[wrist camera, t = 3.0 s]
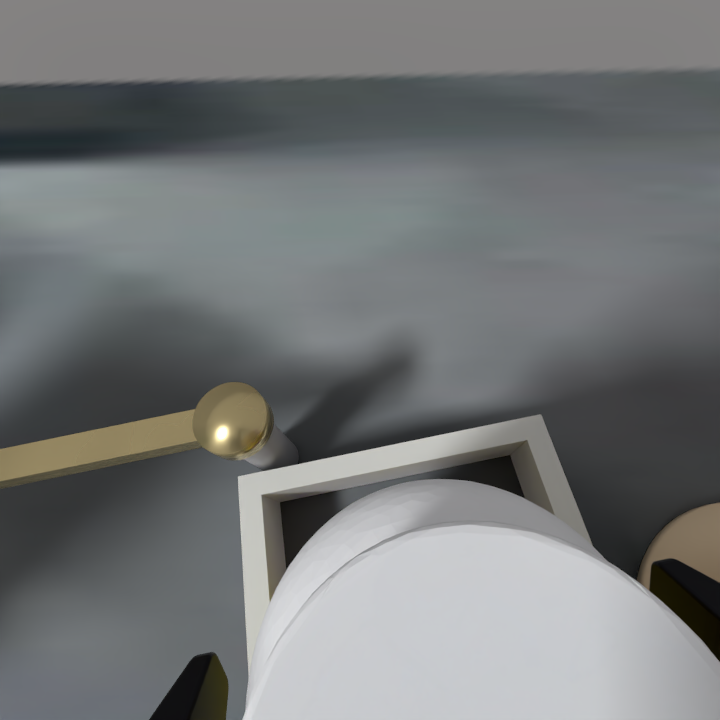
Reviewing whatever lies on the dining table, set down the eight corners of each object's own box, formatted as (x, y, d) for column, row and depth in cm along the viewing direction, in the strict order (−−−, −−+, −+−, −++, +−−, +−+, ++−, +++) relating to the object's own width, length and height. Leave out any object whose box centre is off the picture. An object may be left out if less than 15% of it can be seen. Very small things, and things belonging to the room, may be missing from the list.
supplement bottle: (487, 500, 16) (713, 370, 5) (550, 711, 13) (1575, 1801, 2) (320, 533, 16) (122, 488, 5) (347, 751, 13) (3, 2093, 2)
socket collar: (653, 790, 12) (800, 929, 8) (288, 865, 12) (223, 1048, 8) (507, 392, 18) (544, 338, 13) (256, 444, 18) (207, 408, 13)
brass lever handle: (288, 461, 14) (268, 445, 12) (-61, 533, 14) (-143, 529, 12) (281, 400, 15) (262, 375, 13) (-45, 467, 15) (-119, 453, 13)
